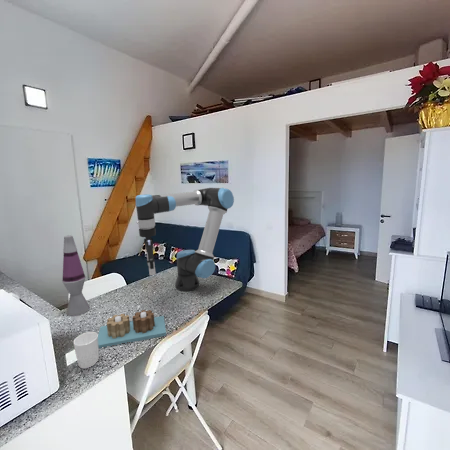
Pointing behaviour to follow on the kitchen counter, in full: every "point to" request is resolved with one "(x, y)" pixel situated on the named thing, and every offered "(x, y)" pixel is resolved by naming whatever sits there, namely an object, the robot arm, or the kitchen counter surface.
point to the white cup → (87, 349)
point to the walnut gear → (143, 322)
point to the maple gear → (118, 326)
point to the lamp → (73, 278)
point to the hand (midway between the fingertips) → (151, 269)
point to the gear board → (132, 333)
